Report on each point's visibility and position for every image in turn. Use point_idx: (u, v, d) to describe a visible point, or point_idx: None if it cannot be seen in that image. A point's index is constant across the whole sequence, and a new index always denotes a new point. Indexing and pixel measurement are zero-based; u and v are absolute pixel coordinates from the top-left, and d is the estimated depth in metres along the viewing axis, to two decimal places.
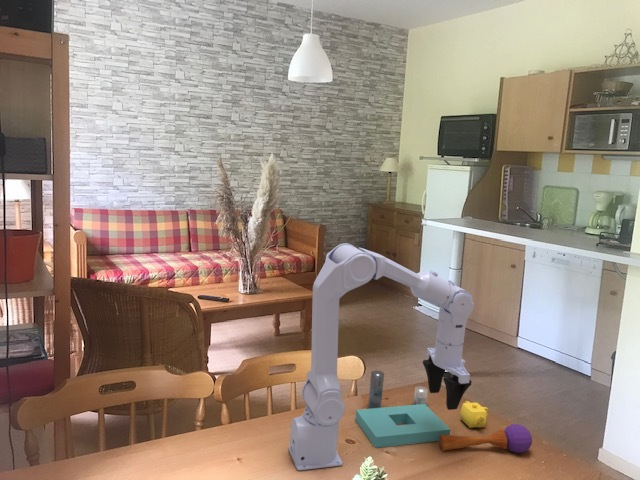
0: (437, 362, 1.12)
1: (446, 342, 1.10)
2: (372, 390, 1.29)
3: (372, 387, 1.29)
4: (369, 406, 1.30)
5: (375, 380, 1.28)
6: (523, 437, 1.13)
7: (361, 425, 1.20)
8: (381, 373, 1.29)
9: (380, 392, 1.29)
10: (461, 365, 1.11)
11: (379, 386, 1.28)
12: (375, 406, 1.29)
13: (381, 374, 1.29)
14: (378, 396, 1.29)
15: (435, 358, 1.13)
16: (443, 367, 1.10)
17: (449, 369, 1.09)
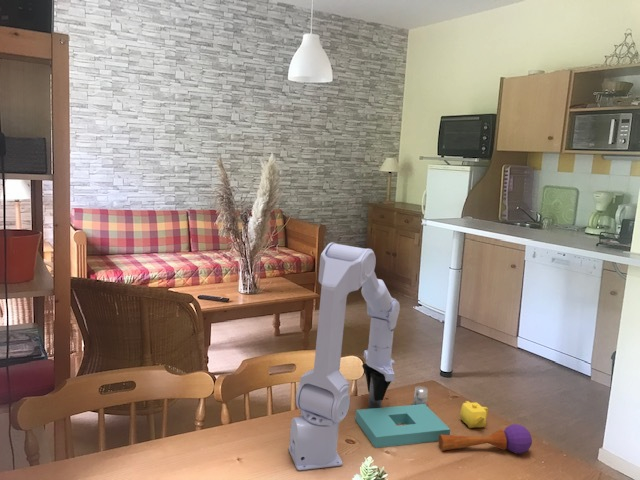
0: (368, 363, 1.27)
1: (384, 346, 1.25)
2: (372, 390, 1.29)
3: (372, 387, 1.29)
4: (369, 406, 1.30)
5: None
6: (522, 437, 1.13)
7: (361, 425, 1.20)
8: None
9: None
10: (390, 365, 1.27)
11: None
12: (375, 406, 1.29)
13: None
14: None
15: (367, 359, 1.28)
16: (373, 367, 1.26)
17: (378, 369, 1.25)
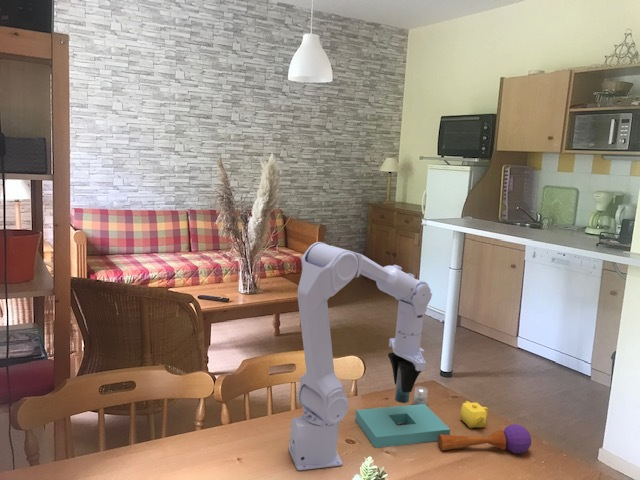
0: (396, 351, 1.17)
1: (409, 332, 1.15)
2: (400, 380, 1.19)
3: (400, 378, 1.18)
4: (396, 398, 1.20)
5: None
6: (522, 437, 1.13)
7: (361, 425, 1.20)
8: None
9: None
10: (419, 354, 1.17)
11: None
12: (403, 398, 1.19)
13: None
14: None
15: (395, 347, 1.18)
16: (401, 356, 1.16)
17: (407, 357, 1.14)
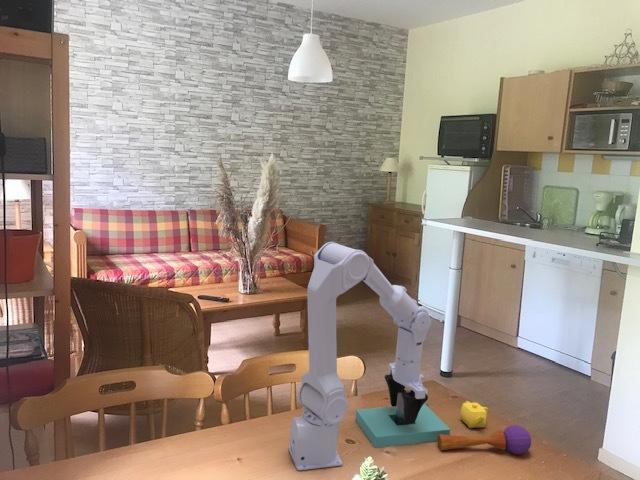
0: (396, 378, 1.17)
1: (408, 360, 1.15)
2: (399, 411, 1.19)
3: (399, 408, 1.19)
4: None
5: (402, 400, 1.18)
6: (521, 438, 1.12)
7: (361, 425, 1.20)
8: None
9: None
10: (419, 380, 1.17)
11: None
12: None
13: None
14: None
15: (394, 374, 1.18)
16: (401, 383, 1.16)
17: (407, 385, 1.15)
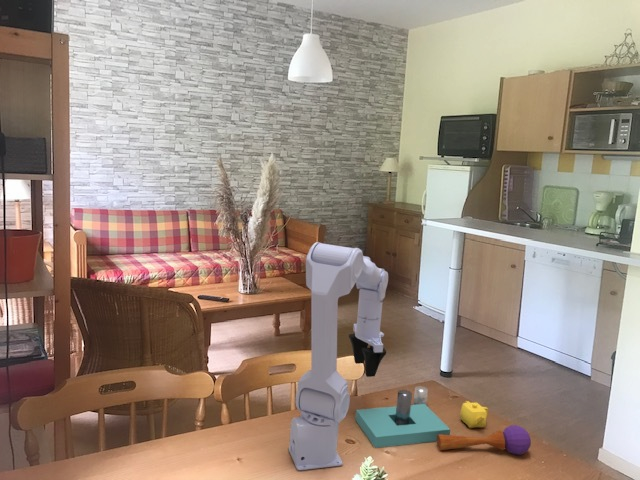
0: (357, 335, 1.25)
1: (374, 317, 1.24)
2: (399, 411, 1.19)
3: (399, 408, 1.19)
4: None
5: (402, 400, 1.18)
6: (521, 438, 1.12)
7: (361, 425, 1.20)
8: (409, 393, 1.20)
9: (408, 413, 1.19)
10: (379, 337, 1.25)
11: (406, 407, 1.18)
12: None
13: (409, 394, 1.19)
14: (406, 418, 1.19)
15: (356, 331, 1.26)
16: (361, 339, 1.24)
17: (366, 340, 1.23)
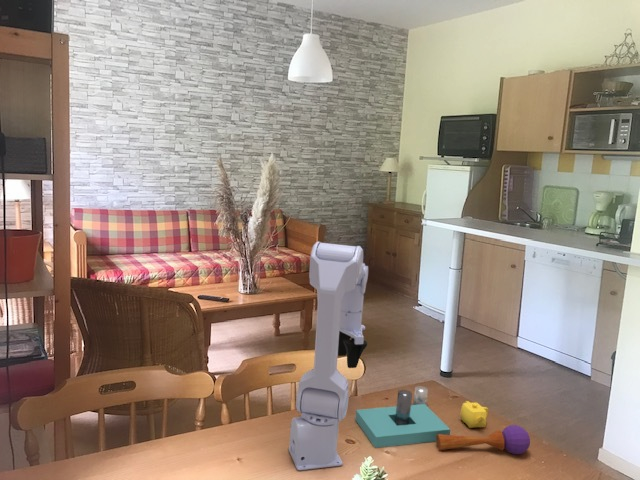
0: None
1: (357, 310, 1.28)
2: (399, 411, 1.19)
3: (399, 408, 1.19)
4: None
5: (402, 400, 1.18)
6: (520, 438, 1.12)
7: (361, 425, 1.20)
8: (409, 393, 1.20)
9: (408, 413, 1.19)
10: (360, 330, 1.30)
11: (407, 407, 1.18)
12: None
13: (409, 394, 1.19)
14: (406, 418, 1.19)
15: None
16: (343, 331, 1.29)
17: (348, 333, 1.27)
